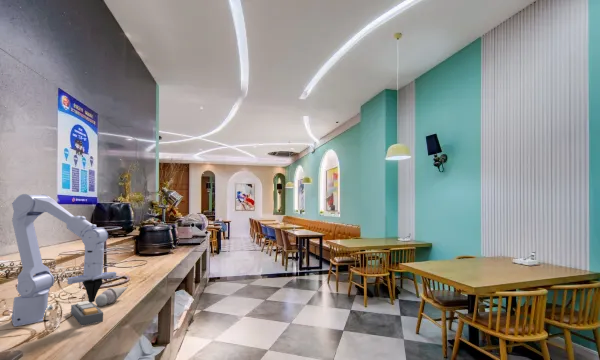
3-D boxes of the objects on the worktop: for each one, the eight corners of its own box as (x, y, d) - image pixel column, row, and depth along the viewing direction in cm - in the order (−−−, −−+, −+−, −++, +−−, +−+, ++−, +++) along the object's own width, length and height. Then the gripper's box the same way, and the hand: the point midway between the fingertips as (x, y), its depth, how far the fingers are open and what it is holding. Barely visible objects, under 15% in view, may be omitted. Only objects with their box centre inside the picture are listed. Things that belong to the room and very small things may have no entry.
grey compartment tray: (81, 326, 110) (81, 317, 110) (70, 313, 121) (71, 304, 121) (102, 321, 114) (103, 312, 114) (90, 309, 126) (91, 301, 126)
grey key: (82, 311, 115) (82, 308, 115) (79, 309, 118) (80, 306, 118) (93, 309, 118) (94, 306, 118) (91, 307, 120) (91, 303, 120)
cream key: (78, 308, 119) (79, 305, 119) (76, 305, 121) (76, 302, 121) (90, 306, 121) (90, 303, 121) (87, 303, 124) (88, 300, 124)
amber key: (85, 315, 112) (85, 312, 112) (83, 313, 114) (83, 309, 114) (97, 313, 114) (97, 309, 114) (94, 310, 117) (95, 307, 117)
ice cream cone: (129, 296, 142) (98, 313, 128) (120, 286, 144) (88, 302, 129) (135, 287, 141) (104, 302, 127) (126, 277, 142) (94, 291, 128)
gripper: (71, 266, 107) (69, 308, 107) (119, 261, 118) (117, 299, 117) (67, 263, 112) (64, 303, 111) (113, 258, 123) (111, 295, 122)
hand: (91, 301), depth 114 cm, fingers closed
